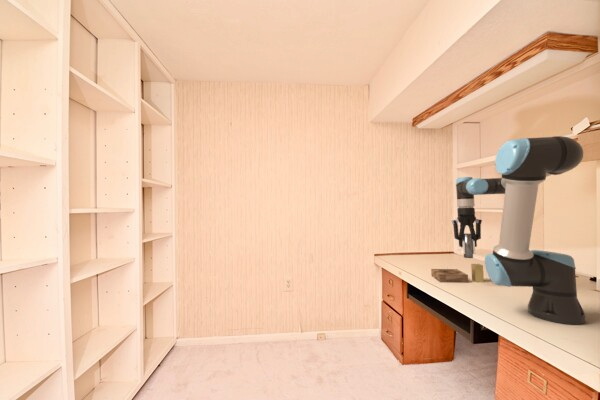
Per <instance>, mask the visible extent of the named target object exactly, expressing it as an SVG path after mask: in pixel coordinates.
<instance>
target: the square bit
mask: <svg viewBox="0 0 600 400" xmlns="http://www.w3.org/2000/svg"><path fill="white" fill-rule="evenodd" d="M470 268H471V270H470V271H471V281H473V282H474V283H485V281H484V280H485V279H484V265H483V264H481V263H471V264H470Z"/></svg>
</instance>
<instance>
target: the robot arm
mask: <svg viewBox="0 0 600 400" xmlns="http://www.w3.org/2000/svg"><path fill="white" fill-rule="evenodd" d="M583 158H584V149H583V147H582V145H581V143H579V142H578V141H577V140H575V139H573V138H571V137H567V136H561V135H560V136H544V137H542V136H541V137H529V138H528V137H523V138H522V137H521V138H515V139H511V140H508V141H505V142H504V143H502V145H501V146H500V148H499V149H498V150H497V152H496V155H495V161H494V166H495V170H496V171H497V173H498V174H500V175H501V177H495V178H494V177H492V178H481V177H479V178H478V177H476V178H473V177H472V176H462V177H457V178H456V180H455V182H456V183H455V188H456V189H455V190H456V204H457V206H456V207H457V217H456V218H455V219H452V220H451V222H452V225H453V232H454V233H453V235H454V236H453V237H454V239H455V240H458V246H459V247H460V251H461V254H462V255H464V254H465V241H463V236H464V233H465V230H466V227H468V228H469V232H470V233H469V234H472V246H473V255H475V254H476V248H477V246H478V244H477V241H478V240H481V238H482V237H481V236H482V231H481V230H482V229H481V227H482V226H481V225H482V221H483V220H482V219H478V218H477V217H476V209H475V208H474V207H475V195H476V196H480V195H481V196H483V195H484V196H485V195H504V198H503V205H502V206H503V209H502V215H501V217H502V218H501V223H500V224H501V226H500V234H499V241H498V244H497V245H494V247H492V248H493V250H492V253H488V254H486V255H485V256H484V257H485V258H484V269H485V270H486V273H487V276H488V277H489V279H490V280H491V281H492V283H494V284H495V285H496V286H501V287H508V288H510V287H528V288H529V287H532V294H531V295H530V299H529V301H528V304H527V311H528V313H529V314H530V315H532V316H534V317H536V318H539V319H542V320H546V321H549V322H553V323H558V324H565V325H584V324H585V323H587V320H586V319H587V318H586V317H587V316H586V313H585V311H584V309H583V307H582V306H581V303H580V301H579V299H578V295H577V294H578V292H577V291H578V290H577V275H576V269H577V268H576V264H575V259H574V257H573V256H572V255H569V254H565V253H561V252H555V251H554V252H553V251H548V250H546V251H545V250H539V249H530V244H531V237H532V231H533V224H534V223H533V222H534V216H535V211H536V204H537V196H538V192H539V191H538V189H539V185H540V184H541V183H543V182H544V181H546V178H547V177H549V176H557V175H559V176H560V175H562V174H564V173H568V172H569V171H572V170H573V169H575V168H576V167H578V166H579V164H581V162H582V160H583ZM458 223H459V224H458ZM474 223H475V225H474ZM459 227H460V228H459ZM474 227H475V228H474Z"/></svg>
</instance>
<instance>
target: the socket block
mask: <svg viewBox="0 0 600 400" xmlns="http://www.w3.org/2000/svg"><path fill="white" fill-rule="evenodd" d="M430 272H431V277H433V279H435V280H436V281H438V282H439V283H469V275H468V274H466V273H465V272H463V271H461V270H459V269H457V268H456V269H455V268H431V271H430Z"/></svg>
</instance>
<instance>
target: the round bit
mask: <svg viewBox="0 0 600 400" xmlns="http://www.w3.org/2000/svg"><path fill="white" fill-rule="evenodd" d="M463 241H465V254H463V258H465V259H474V254H473V246H472V234H471V233H465V232H464V236H463Z"/></svg>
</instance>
